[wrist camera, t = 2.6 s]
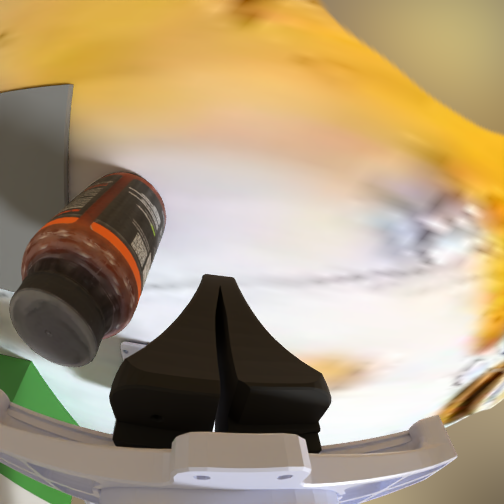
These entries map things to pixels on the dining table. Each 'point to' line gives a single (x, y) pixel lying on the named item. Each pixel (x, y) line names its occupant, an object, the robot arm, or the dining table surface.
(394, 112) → the dining table surface
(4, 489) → the hardback book
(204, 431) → the robot arm
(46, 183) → the mat
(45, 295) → the supplement bottle
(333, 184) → the dining table surface
